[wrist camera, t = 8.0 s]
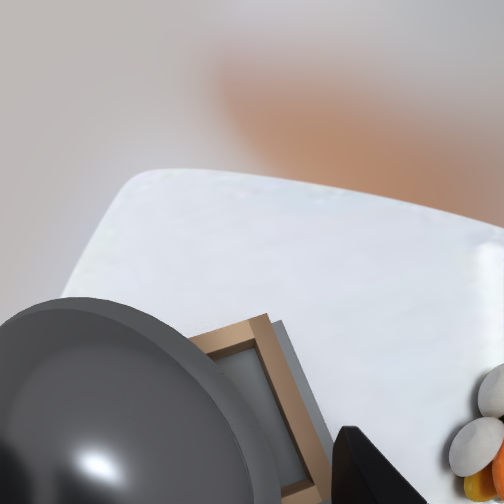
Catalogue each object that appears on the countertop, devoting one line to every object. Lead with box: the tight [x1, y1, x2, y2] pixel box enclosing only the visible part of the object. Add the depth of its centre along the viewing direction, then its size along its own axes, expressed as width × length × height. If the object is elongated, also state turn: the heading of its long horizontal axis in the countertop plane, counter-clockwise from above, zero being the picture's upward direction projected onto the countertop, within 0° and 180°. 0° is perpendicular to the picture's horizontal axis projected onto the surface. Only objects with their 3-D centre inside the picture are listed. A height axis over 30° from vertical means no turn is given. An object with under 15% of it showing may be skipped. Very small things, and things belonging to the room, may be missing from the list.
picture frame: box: [188, 313, 334, 504], centre depth 12 cm, size 11×15×2 cm
